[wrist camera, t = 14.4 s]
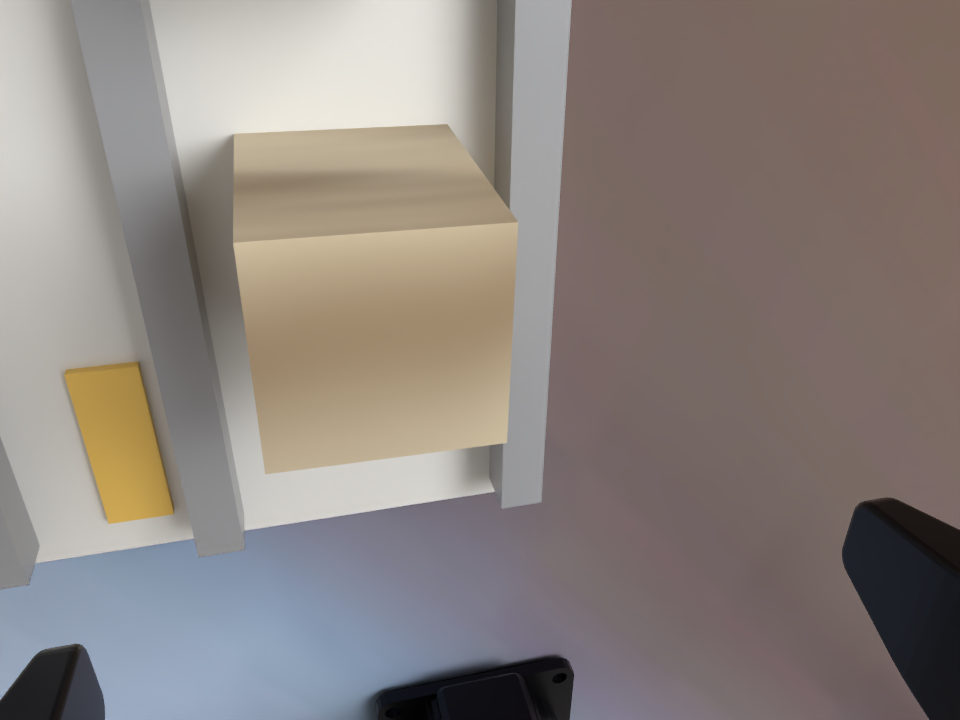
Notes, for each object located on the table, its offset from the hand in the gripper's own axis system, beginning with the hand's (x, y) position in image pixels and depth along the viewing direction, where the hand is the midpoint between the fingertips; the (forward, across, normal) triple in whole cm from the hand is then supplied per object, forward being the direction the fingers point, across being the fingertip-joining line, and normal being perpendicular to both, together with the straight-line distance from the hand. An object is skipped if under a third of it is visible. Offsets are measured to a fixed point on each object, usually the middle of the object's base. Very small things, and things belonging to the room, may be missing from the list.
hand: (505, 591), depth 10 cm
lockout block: (+10, +1, -1) cm, 10 cm away
